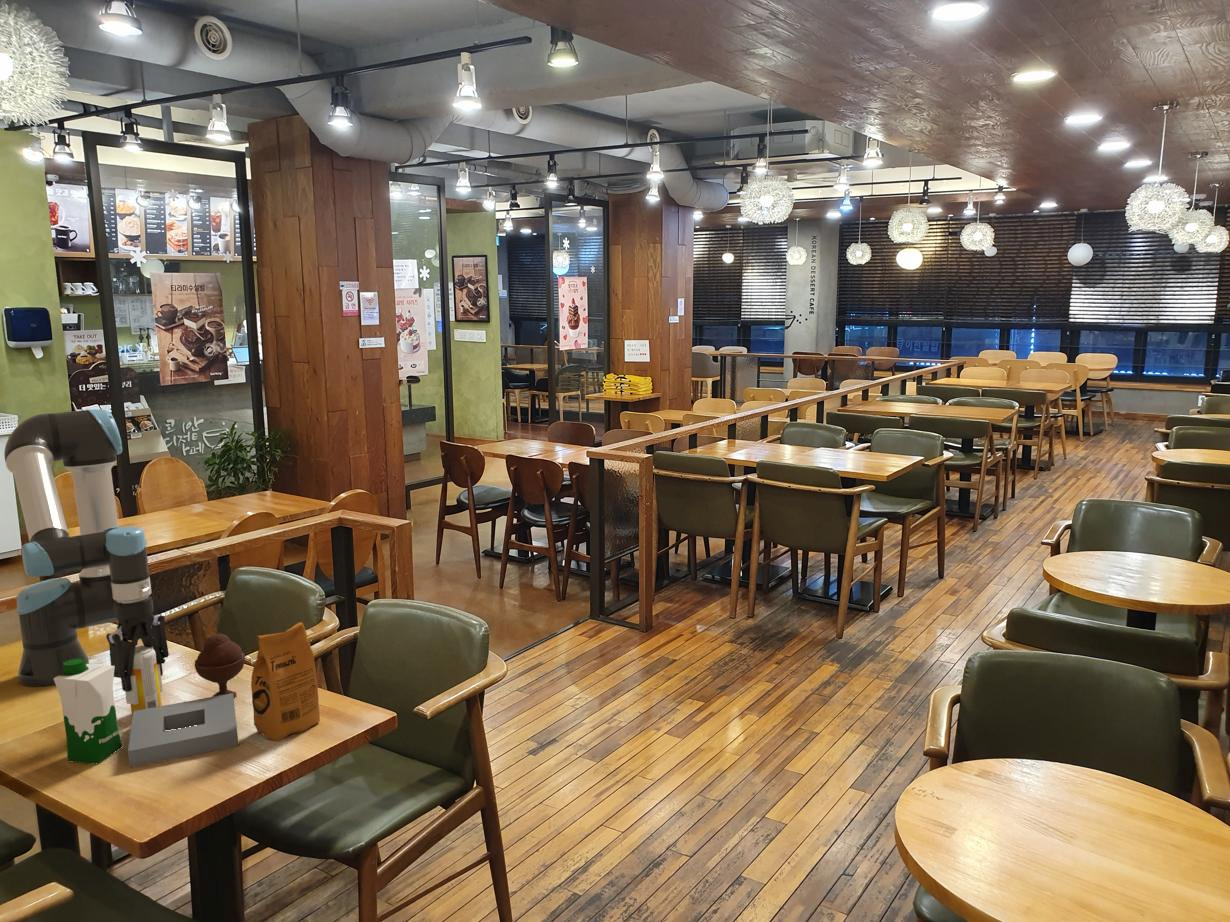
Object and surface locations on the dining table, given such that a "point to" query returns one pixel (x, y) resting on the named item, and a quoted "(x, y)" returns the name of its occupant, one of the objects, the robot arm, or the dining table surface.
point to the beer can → (146, 678)
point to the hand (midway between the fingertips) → (144, 697)
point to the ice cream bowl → (220, 662)
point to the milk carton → (88, 710)
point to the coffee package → (284, 684)
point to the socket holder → (182, 729)
